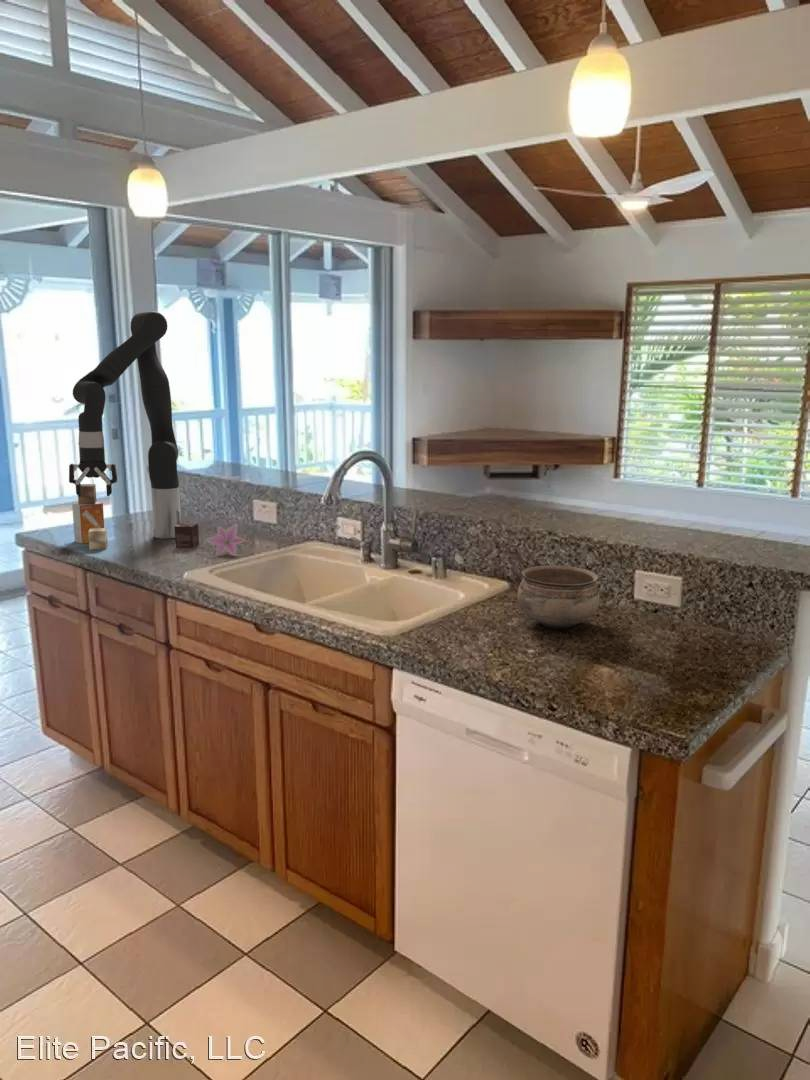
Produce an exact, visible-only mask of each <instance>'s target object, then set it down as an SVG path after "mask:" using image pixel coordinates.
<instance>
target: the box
mask: <svg viewBox="0 0 810 1080" xmlns="http://www.w3.org/2000/svg"><path fill="white" fill-rule="evenodd" d="M199 532H200V531H199V523H197V522H196V523H195V522H193V523H192V522H181V523H180V524H178V525H176V526H175V538H174V539H175V541H174V542H175V548H176V549H177V548H178V549H179V548H180V549H182V548H183V549H184V548H185V549H194V548H196V547H197V546H198V545H200V533H199Z"/></svg>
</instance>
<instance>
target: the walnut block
mask: <svg viewBox="0 0 810 1080" xmlns="http://www.w3.org/2000/svg"><path fill="white" fill-rule="evenodd" d="M80 484H81V488H82V496H81V497H79V496H78V495H77V498H78V499H77V501H78V502H77V503H79V505H80V504H95V503H96V502H98V501H97V489H96V488H97V487H96V483H87V484H85V483H84V484H83V483H80Z"/></svg>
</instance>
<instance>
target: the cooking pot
mask: <svg viewBox="0 0 810 1080" xmlns="http://www.w3.org/2000/svg"><path fill="white" fill-rule="evenodd" d="M521 576H522V580H521V581H520V583H519V586H518V588H517V603H518V604H519V606H520V608H521V610H522V612H523V613H525V615H527V616H528V617H529V618H530V619H533V620H534V621H536V622H537V623H539V624H541V625H543V626H544V627H545V628H548V629H552V630H553V629H554V630H565V629H570V628H571V627H573V626H576V625H578V624H580V623H583V622H584V621H587V620H588V619H590V618H591V617H593V615H595V613H596V612H597V609H598V608H599V605H600V601H601V600H600V598H601V597H600V593H599V588H598V586H597V583H596V581H597V580H598V578H599V576H598V575H597V573H595V572H593V571H591V570H588V569H584V568H580V567H575V566H568V565H567V566H566V565H553V564H551V565H546V564H545V565H537V566H536V565H535V566H531V567H527V568H524V569H523V570H522V571H521Z"/></svg>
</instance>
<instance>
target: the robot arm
mask: <svg viewBox="0 0 810 1080" xmlns="http://www.w3.org/2000/svg"><path fill="white" fill-rule="evenodd" d="M130 320H131V321H130V331H131V332H130V333H131V336H130V337H129V338H128V339H126V340H125V341H124V342H122V344H120V345H119V346H117V347H116V348H114V349H113V350H112V351H110V352H109V353H108V354H107V355H106V356H105V357H104V358H103V359H102V360H101V361H100V362H99V364H98V365H96V366H95V368H94V369H92V370H91V371H90V372H88V373H87V374H85V375H84V376H83V377H81V378H80V379H78V381H77V382H76V383H75V384H74V386H73V389H72V397H73V399H74V400H75V401H76V402H78V403H80V404H84V408H83V411H82V412H80V413H79V415H78V442H77V443H78V444H77V445H78V453H79V454H78V455H79V463H78V464H76V463H75V464H74V463H70V464H69V465H68V482H69V484H74V485H75V494H76V495H77V497H78V496H79V497H81V496H82V488H81V484H82V481H83V480H84V479H85V478H89V479H90V478H95V479H96V478H100V479H102V480H103V481H104V482H105V484H106V485H105V486H106V497H110V496H111V495H112V493H113V488H112V484H115V483H118V473H117V465H116V463H111V464H107V463H106V454H105V451H106V450H105V438H104V432H103V430H104V429H103V416H104V411H105V405H106V400H107V399H106V398H107V397H106V396H107V395H106V391H105V388H106V387H109V386H111V385H113V384H114V383H115V382H117V380H119V378H120V377H121V376H122V375H123V374H124V373H125V372H126V370H128V368H129V367H130V366H131V365H132V364H133V363H134V362H135V361H136V360H137V365H138V366H137V367H138V373H139V380H140V391H141V397H142V403H143V407H144V411H145V413H146V416H147V419H148V422H149V426H150V432H151V445H150V447H149V449H148V451H147V460H148V475H149V481H150V492H151V508H152V509H151V510H152V524H153V525H152V526H153V537H154V538H155V539H175V526H176V525H178V524H180V523H182V517H181V512H182V511H181V501H180V499H181V498H180V481H179V475H178V464H177V463H178V462H177V461H178V458H179V449H178V445H177V440H176V437H175V432H174V426H173V412H172V411H173V409H172V396H171V389H170V381H169V378H168V375H167V374H166V372H165V369H164V368H163V365H162V364H161V362H160V360H159V358H158V353H157V352H158V351H157V347H156V343H157V342H158V341H159V340H160V339H162V338H163V337H164V336H165V335H166V333H167V331H168V321H167V319H166V317H165V316H164V315H163V314H162V313H160V312H158V311H154V310H153V311H151V310H150V311H143V312H138V313H135V315H133V316H132V318H131V319H130ZM77 469H79V470H80V472H81V474H80V475H79V477H78V478H77V479H75V472H76V471H77ZM107 469H108V470H109V472H111V477H112V479H110V478H109V477H108V475H107V473H105V471H106V470H107Z"/></svg>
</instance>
